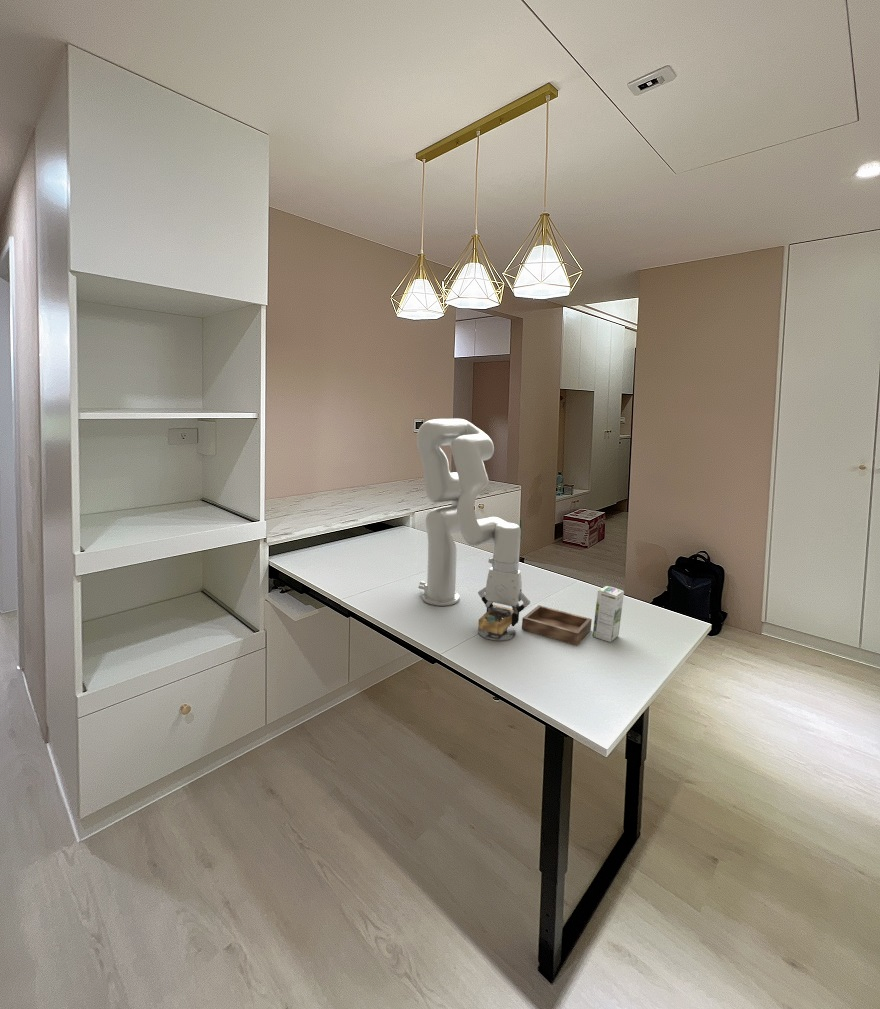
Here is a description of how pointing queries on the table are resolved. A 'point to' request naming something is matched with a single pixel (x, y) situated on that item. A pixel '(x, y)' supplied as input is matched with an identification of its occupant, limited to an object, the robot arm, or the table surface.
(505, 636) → the door handle
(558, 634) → the tray
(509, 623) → the light wooden frame
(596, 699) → the table surface
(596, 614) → the syrup box
